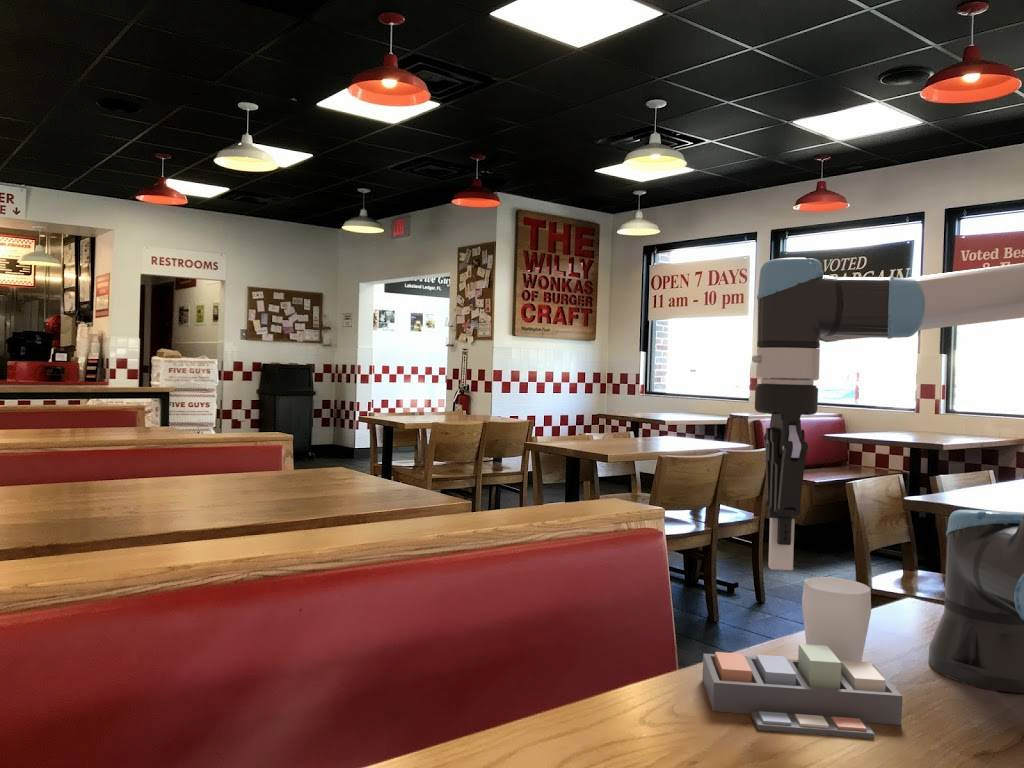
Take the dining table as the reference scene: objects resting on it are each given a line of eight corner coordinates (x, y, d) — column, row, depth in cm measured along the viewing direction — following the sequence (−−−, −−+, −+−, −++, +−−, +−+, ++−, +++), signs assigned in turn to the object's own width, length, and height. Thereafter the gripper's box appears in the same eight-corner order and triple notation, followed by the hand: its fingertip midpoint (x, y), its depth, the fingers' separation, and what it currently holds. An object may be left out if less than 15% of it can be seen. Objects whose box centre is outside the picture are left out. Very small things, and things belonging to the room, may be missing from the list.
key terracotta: (742, 680, 105) (743, 653, 105) (750, 698, 99) (751, 671, 99) (714, 678, 105) (715, 651, 105) (721, 696, 99) (722, 669, 99)
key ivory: (868, 689, 103) (869, 662, 103) (884, 708, 97) (885, 680, 97) (839, 686, 104) (840, 660, 103) (853, 706, 98) (855, 678, 98)
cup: (875, 685, 107) (879, 596, 107) (804, 678, 109) (808, 591, 109) (860, 661, 116) (863, 579, 116) (795, 655, 118) (798, 574, 117)
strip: (863, 724, 95) (864, 717, 95) (874, 738, 91) (874, 730, 91) (751, 716, 96) (752, 708, 96) (757, 729, 93) (757, 722, 93)
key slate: (783, 683, 104) (784, 656, 104) (794, 702, 98) (796, 674, 98) (755, 681, 105) (756, 654, 105) (764, 700, 99) (765, 672, 99)
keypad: (872, 691, 105) (873, 664, 105) (901, 725, 95) (902, 696, 95) (702, 679, 107) (703, 653, 107) (712, 711, 98) (714, 682, 97)
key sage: (826, 672, 104) (827, 645, 104) (840, 691, 98) (841, 662, 98) (797, 670, 104) (798, 643, 104) (809, 688, 98) (810, 660, 98)
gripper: (746, 380, 108) (741, 554, 108) (766, 382, 95) (760, 580, 95) (804, 382, 107) (798, 557, 107) (832, 384, 94) (825, 583, 94)
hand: (780, 568), depth 101 cm, fingers closed
